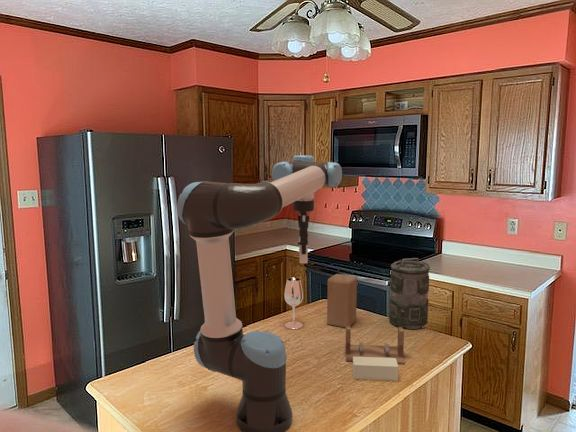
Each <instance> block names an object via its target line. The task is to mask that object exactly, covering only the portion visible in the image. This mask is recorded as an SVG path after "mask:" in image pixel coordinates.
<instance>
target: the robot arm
mask: <svg viewBox="0 0 576 432" xmlns="http://www.w3.org/2000/svg"><path fill="white" fill-rule="evenodd" d="M271 169H272V170H271V178H272V180H273V181H266V180H263V181H260V182H257V183H237V182H236V183H235V182H233V183H232V182H230V183H229V182H218V181H217V182H216V181H207V180H206V181H195V182H192V183H191V182H190V183H189V184H188V185H187V186H185V187H184V188H183V189H182V192H181V193H180V194H179V197H178V199H177V203H176V211H177V216H178V218H179V220H180V221H181V222H182V224H184V225H186V226H188V233H189V237H190V238H192V239H193V240H194V241H195V243H196V251H197V260H198V263H197V264H198V269H199V279H200V287H201V298H202V306H203V307H202V308H203V314H204V323H203V324H202V325H201V326H200V330H199V331H198V332H197V334H196V337H195V340H196V341H194V343H193V354H194V357H195V360H196V362H197V363H198V364H199V365H200V366H201V367H203V368H205V369H207V370H209V371H210V372H212V373H213V372H215V373H219V374H220V375H221V374H222V375H225V376H228V377H231V378H233V379H237V380H240V381H242V382H241V383H242V384H241V385H242V387H241V388H242V394H241V398H240V401H239V404H238V407H237V411H236V425H237V427H238V429H239V430H240V431H241V432H285V431H286V430H288V429H289V428H290V427H291V425H292V423H293V410H292V407H291V404H290V401H289V397H288V395H287V389H286V387H287V386H286V385H287V384H286V382H287V381H286V380H287V376H286V375H287V372H286V371H287V365H286V364H287V353H286V345H285V342H284V341H283V339H282V338H281V337H280V336H279V335H277V334H275V333H273V332H270V331H265V330H262V331H259V330H253V331H249V332H246V333H245V334H244V329H243V323H242V320H241V319H238V318H237V314H236V313H237V312H236V303H235V293H234V292H235V291H234V280H233V271H232V260H231V250H230V249H231V248H230V240H229V239H230V238H229V237H231V235H232V234H233V233H234V231H235V230H242V229H246V228H250V227H254V226H256V225H259V224H262V223H263V222H266V221H268V220H271V219H272V218H274V217H276V216H278V215H279V214H280V213H281V212H282V209H283V208H285V207H287V206H289V205H291V204H292V210H293V211H294V212H298V213H299V214H297V222H298V228H299V231H298V233H299V235H298V236H299V237H298V240H299V241H298V242H297V245H298V251H299V252H298V254H299V264H308V263H309V262H308V250H309V249H308V248H309V247H308V245H309V241H308V237H309V233H308V228H309V222H310V215H309V214H308V213H307V212H312V211H313V212H314V210H315V201H314V199H315V193H316V192H317V191H318V190H320V189H322V188H324V187H329V188H333V187H337V186H339V185H340V184H341V181H342V179H343V170H342V166H341V165H340V164H339V163H338V162H332V161H326V162H325V161H319V162H318V161H317V162H316V161H315V157H314V155H294V156H293V157H292V161H281V162H278V163H275V164H274V166H273V167H272V168H271Z"/></svg>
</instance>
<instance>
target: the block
mask: <svg viewBox="0 0 576 432" xmlns="http://www.w3.org/2000/svg"><path fill="white" fill-rule="evenodd" d="M357 288H358V277H357V276H355V275H348V274H341V273H340V274H339V273H335V274H334V275H332V276H331V277H329V278H327V296H326V297H327V298H326V300H327V301H326V302H327V303H326V306H327V307H326V310H327V311H326V320H327V321H326V322H327V325H330V326H334V327H339V328H340V327H341V328H345V329H346V325H350V327H351V326H353V324H354V323H355V322H356V321H357V297H358V296H357V295H358V291H357V290H358V289H357Z"/></svg>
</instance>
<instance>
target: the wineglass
mask: <svg viewBox="0 0 576 432" xmlns="http://www.w3.org/2000/svg"><path fill="white" fill-rule="evenodd" d="M302 284H303V283H302V280H301V278H299V277H288V278H287V279H286V283H285V288H284V294H283V295H284V297H283V298H284V300H285V302H286V304H287V305H289V306H291V308H292V321H287V322H286V323H284V327H285V328H287V329H288V330H289V329H291V330H299V329H301V328H302V327H303V326H304V324H303V323H301V322H300V321H296V320H295V318H296V317H295V314H296V313H295V311H296V310H295V309H296V307H297V306H299V305H300V304H301V303H302V302H303V299H304V292H303V286H302Z"/></svg>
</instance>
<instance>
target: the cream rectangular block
mask: <svg viewBox="0 0 576 432" xmlns="http://www.w3.org/2000/svg"><path fill="white" fill-rule="evenodd" d="M352 376H353V380H374V381H377V380H378V381H396V382H397V381H398V382H399V364H397V361H396V358H380V357H353V362H352Z"/></svg>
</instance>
